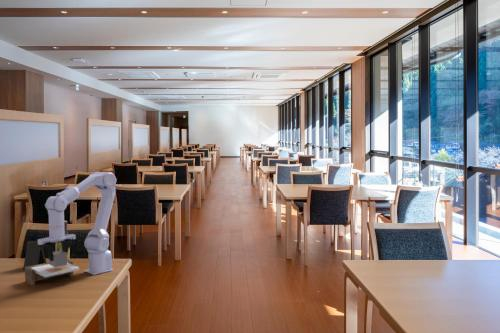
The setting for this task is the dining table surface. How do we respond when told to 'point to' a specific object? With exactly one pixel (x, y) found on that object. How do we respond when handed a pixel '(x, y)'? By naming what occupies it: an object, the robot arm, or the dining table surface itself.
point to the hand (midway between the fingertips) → (57, 259)
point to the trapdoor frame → (32, 276)
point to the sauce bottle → (58, 244)
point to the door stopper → (34, 254)
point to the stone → (59, 258)
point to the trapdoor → (54, 269)
